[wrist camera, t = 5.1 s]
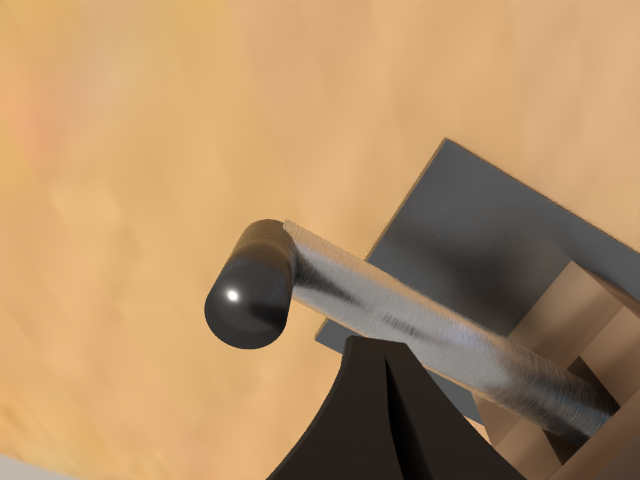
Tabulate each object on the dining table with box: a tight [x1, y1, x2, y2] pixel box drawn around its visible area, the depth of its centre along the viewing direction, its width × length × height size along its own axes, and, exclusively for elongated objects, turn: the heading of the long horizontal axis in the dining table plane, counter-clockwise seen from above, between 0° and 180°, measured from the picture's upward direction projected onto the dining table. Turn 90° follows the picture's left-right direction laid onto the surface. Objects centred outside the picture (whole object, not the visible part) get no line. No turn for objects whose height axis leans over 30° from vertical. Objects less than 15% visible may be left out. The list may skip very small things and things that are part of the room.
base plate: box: [315, 138, 640, 426], centre depth 21 cm, size 16×10×1 cm, turn 61°
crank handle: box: [204, 219, 621, 448], centre depth 13 cm, size 13×2×5 cm, turn 61°
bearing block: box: [471, 260, 640, 480], centre depth 17 cm, size 3×7×7 cm, turn 150°
